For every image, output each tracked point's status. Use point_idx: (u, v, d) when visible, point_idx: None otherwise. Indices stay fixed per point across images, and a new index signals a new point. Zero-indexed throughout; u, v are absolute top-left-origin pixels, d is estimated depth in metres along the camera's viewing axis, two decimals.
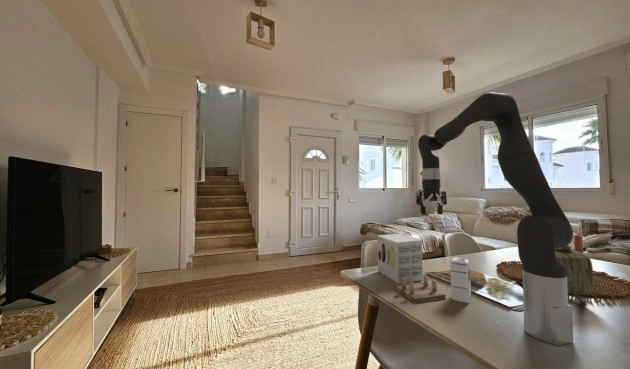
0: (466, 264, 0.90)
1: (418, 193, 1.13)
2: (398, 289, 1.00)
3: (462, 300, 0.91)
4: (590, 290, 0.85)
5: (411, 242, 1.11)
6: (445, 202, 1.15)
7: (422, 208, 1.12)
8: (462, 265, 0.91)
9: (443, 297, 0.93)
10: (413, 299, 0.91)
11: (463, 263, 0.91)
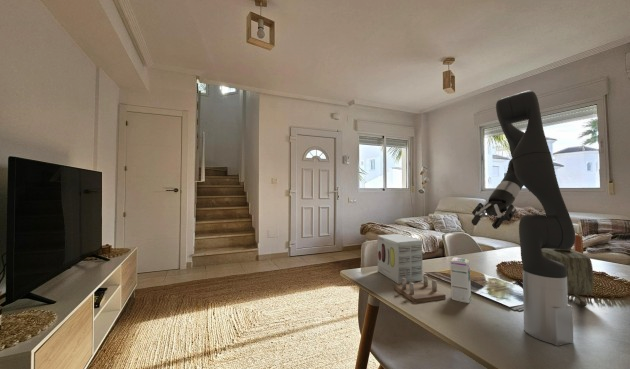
0: (466, 264, 0.90)
1: None
2: (398, 289, 1.00)
3: (462, 300, 0.91)
4: (590, 290, 0.85)
5: (411, 242, 1.11)
6: (505, 214, 0.92)
7: (474, 217, 1.02)
8: (462, 265, 0.91)
9: (443, 297, 0.93)
10: (413, 299, 0.91)
11: (463, 263, 0.91)
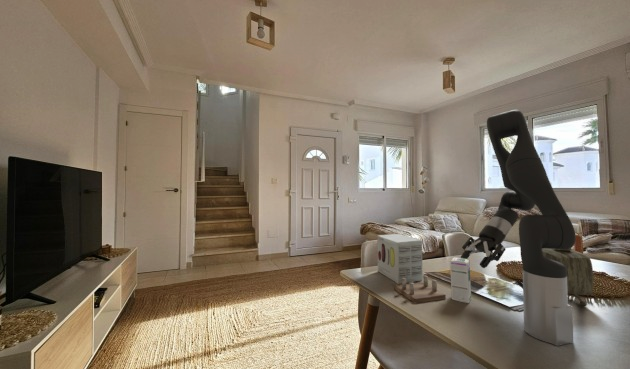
0: (466, 264, 0.90)
1: None
2: (398, 289, 1.00)
3: (462, 300, 0.91)
4: (590, 290, 0.85)
5: (411, 242, 1.11)
6: (493, 254, 0.90)
7: None
8: (462, 265, 0.91)
9: (443, 297, 0.93)
10: (413, 299, 0.91)
11: (463, 263, 0.91)
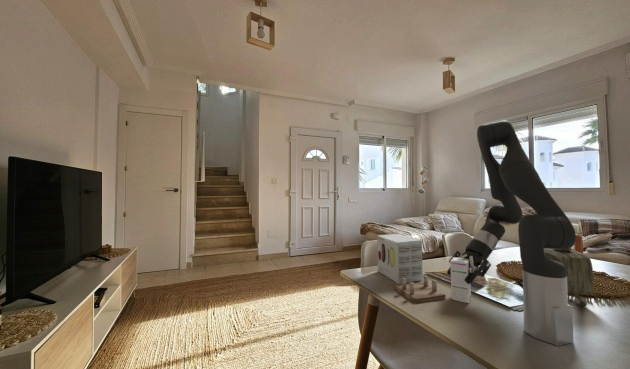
0: (466, 264, 0.90)
1: None
2: (398, 289, 1.00)
3: (462, 300, 0.91)
4: (590, 290, 0.85)
5: (411, 242, 1.11)
6: (478, 270, 0.88)
7: (450, 267, 0.99)
8: (462, 265, 0.91)
9: (443, 297, 0.93)
10: (413, 299, 0.91)
11: (463, 263, 0.91)
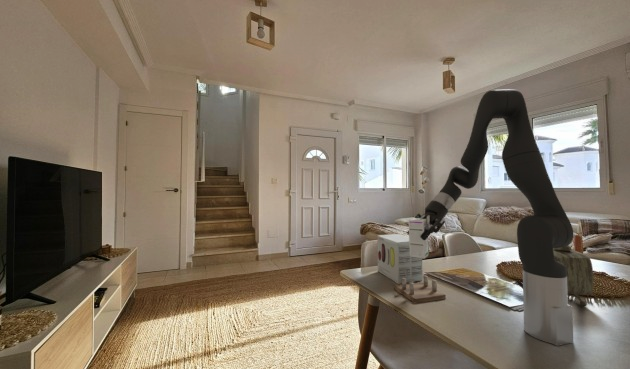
0: (422, 222, 0.95)
1: None
2: (398, 289, 1.00)
3: (419, 256, 0.96)
4: (590, 290, 0.85)
5: None
6: (432, 226, 0.93)
7: None
8: (419, 223, 0.96)
9: (443, 297, 0.93)
10: (413, 299, 0.91)
11: (419, 221, 0.96)
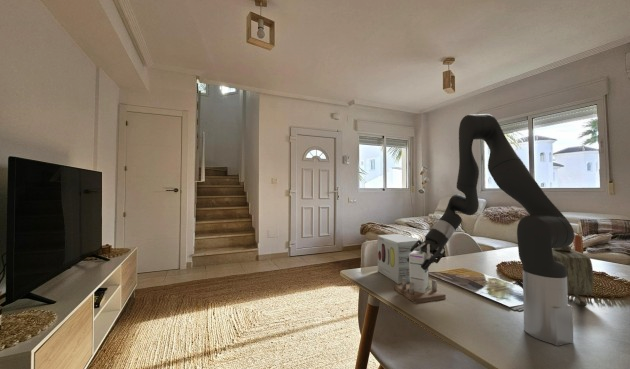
0: (422, 256, 0.95)
1: None
2: (398, 289, 1.00)
3: (419, 290, 0.96)
4: (590, 290, 0.85)
5: (411, 242, 1.11)
6: (433, 257, 0.93)
7: None
8: (419, 257, 0.96)
9: (443, 297, 0.93)
10: (413, 299, 0.91)
11: (420, 255, 0.96)
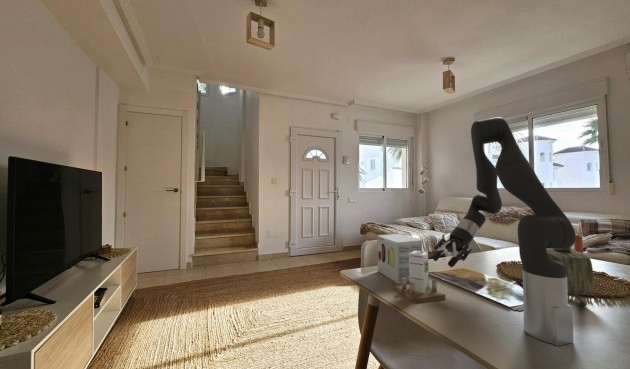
0: (422, 256, 0.95)
1: None
2: (398, 289, 1.00)
3: (419, 290, 0.96)
4: (590, 290, 0.85)
5: (411, 242, 1.11)
6: (460, 254, 0.96)
7: None
8: (419, 257, 0.96)
9: (443, 297, 0.93)
10: (413, 299, 0.91)
11: (420, 255, 0.96)
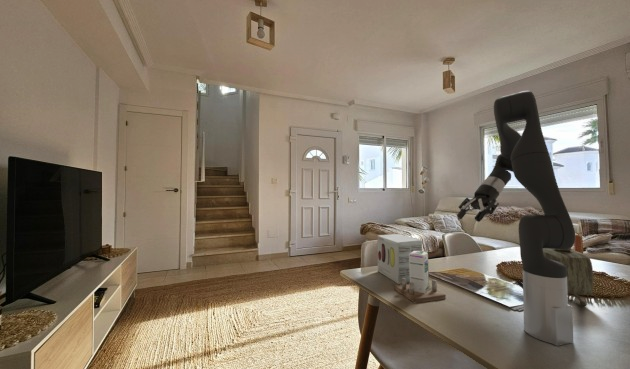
0: (422, 256, 0.95)
1: None
2: (398, 289, 1.00)
3: (419, 290, 0.96)
4: (590, 290, 0.85)
5: (411, 242, 1.11)
6: (487, 208, 0.96)
7: (460, 211, 1.06)
8: (419, 257, 0.96)
9: (443, 297, 0.93)
10: (413, 299, 0.91)
11: (420, 255, 0.96)
